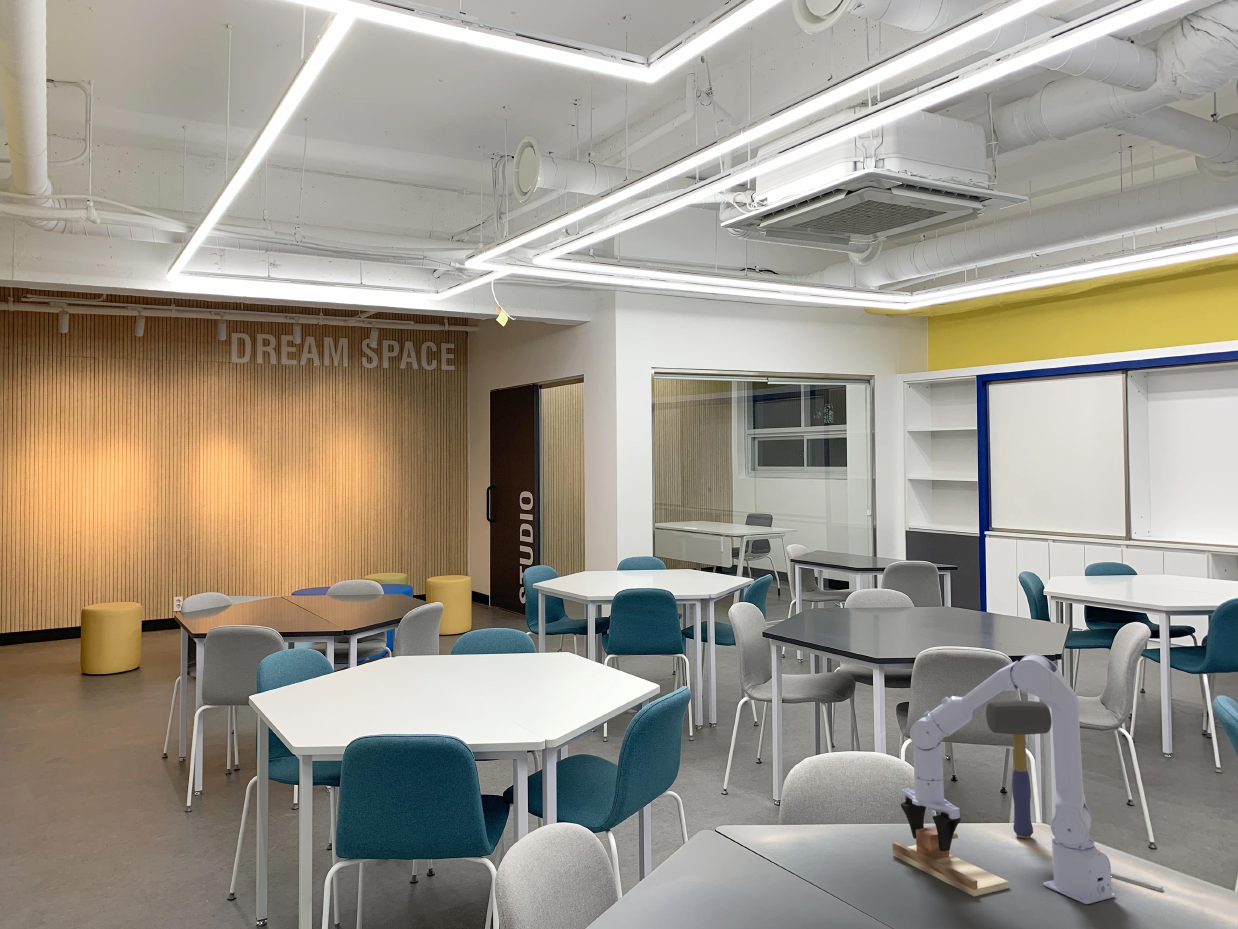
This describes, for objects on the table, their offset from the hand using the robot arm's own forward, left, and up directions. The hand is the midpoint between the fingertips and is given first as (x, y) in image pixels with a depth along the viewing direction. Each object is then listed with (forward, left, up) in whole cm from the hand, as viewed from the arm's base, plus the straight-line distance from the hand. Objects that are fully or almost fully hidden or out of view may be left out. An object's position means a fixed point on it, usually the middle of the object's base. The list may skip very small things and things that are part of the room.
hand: (931, 844), depth 176 cm
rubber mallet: (+2, -28, -4) cm, 29 cm away
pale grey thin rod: (-23, -28, -4) cm, 36 cm away
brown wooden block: (0, -2, -2) cm, 3 cm away
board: (-5, 0, -4) cm, 6 cm away
